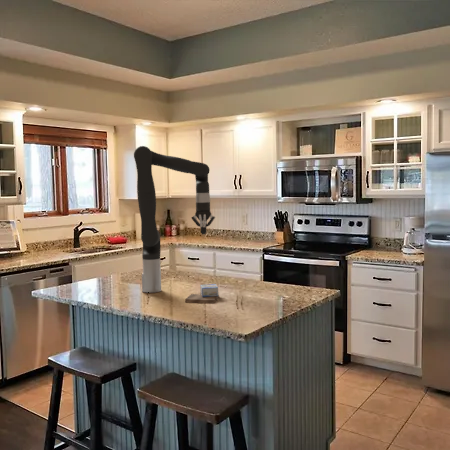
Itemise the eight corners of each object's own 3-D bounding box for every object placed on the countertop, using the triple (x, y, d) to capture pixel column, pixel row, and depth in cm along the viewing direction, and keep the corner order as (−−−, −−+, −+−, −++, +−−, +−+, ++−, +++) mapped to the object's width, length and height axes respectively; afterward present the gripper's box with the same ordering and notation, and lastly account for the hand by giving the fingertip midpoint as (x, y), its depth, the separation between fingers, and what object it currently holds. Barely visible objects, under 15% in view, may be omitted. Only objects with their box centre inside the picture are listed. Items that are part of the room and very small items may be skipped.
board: (185, 302, 233) (185, 299, 233) (191, 297, 244) (191, 294, 244) (214, 303, 231) (214, 299, 231) (219, 297, 241) (218, 294, 241)
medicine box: (215, 283, 246) (218, 287, 237) (216, 292, 246) (218, 296, 238) (200, 284, 245) (202, 288, 236) (200, 293, 245) (202, 297, 236)
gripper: (188, 202, 258) (189, 235, 260) (213, 201, 256) (214, 235, 257) (192, 201, 265) (193, 233, 267) (216, 201, 263) (217, 233, 264)
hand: (203, 234), depth 262 cm, fingers closed
